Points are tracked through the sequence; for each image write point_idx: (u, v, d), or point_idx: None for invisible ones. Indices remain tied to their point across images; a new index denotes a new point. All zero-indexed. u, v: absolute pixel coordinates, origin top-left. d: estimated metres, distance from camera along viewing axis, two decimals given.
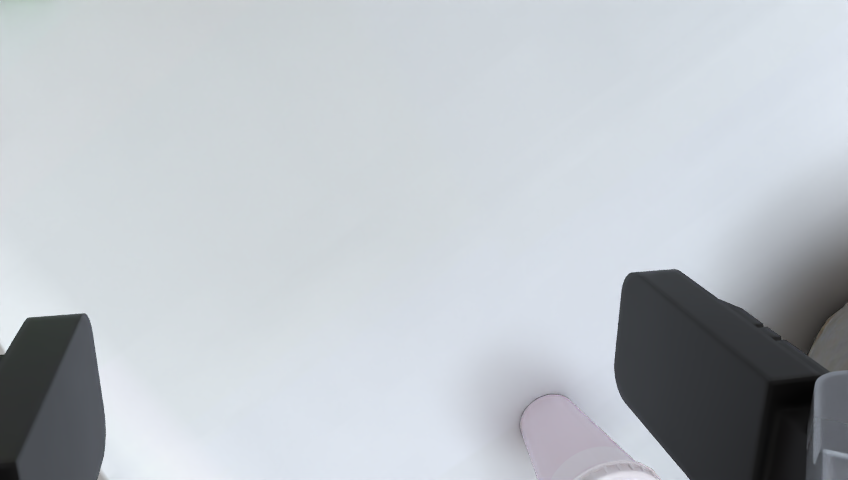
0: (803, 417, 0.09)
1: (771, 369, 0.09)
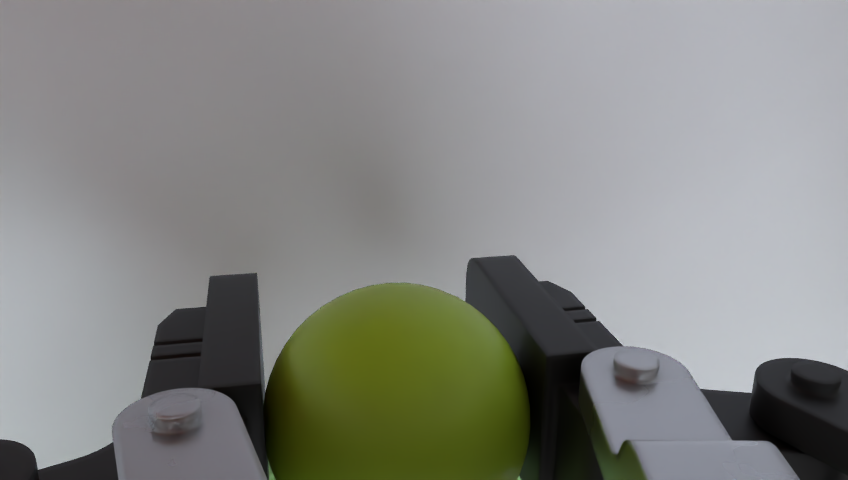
0: None
1: (554, 345, 0.10)
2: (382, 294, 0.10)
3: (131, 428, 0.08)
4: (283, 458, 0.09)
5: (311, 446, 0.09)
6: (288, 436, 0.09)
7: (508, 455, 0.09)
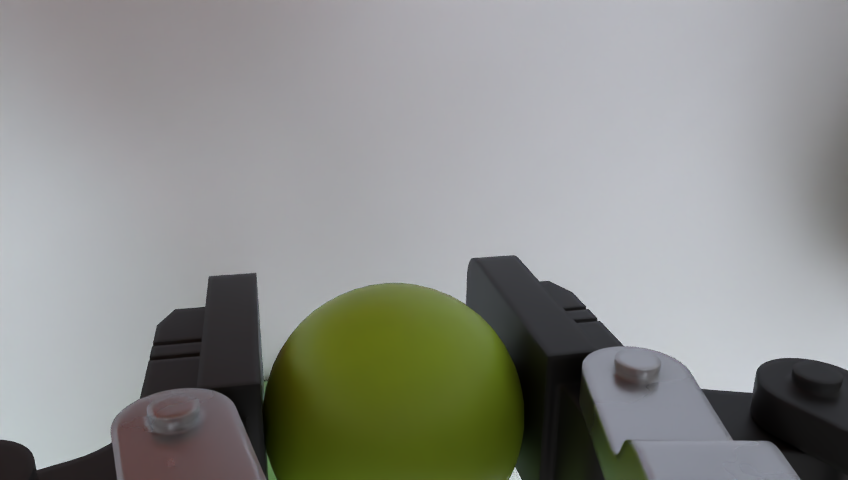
0: (580, 390, 0.09)
1: (555, 345, 0.10)
2: (388, 325, 0.09)
3: (129, 428, 0.08)
4: (284, 476, 0.09)
5: None
6: (290, 466, 0.09)
7: None
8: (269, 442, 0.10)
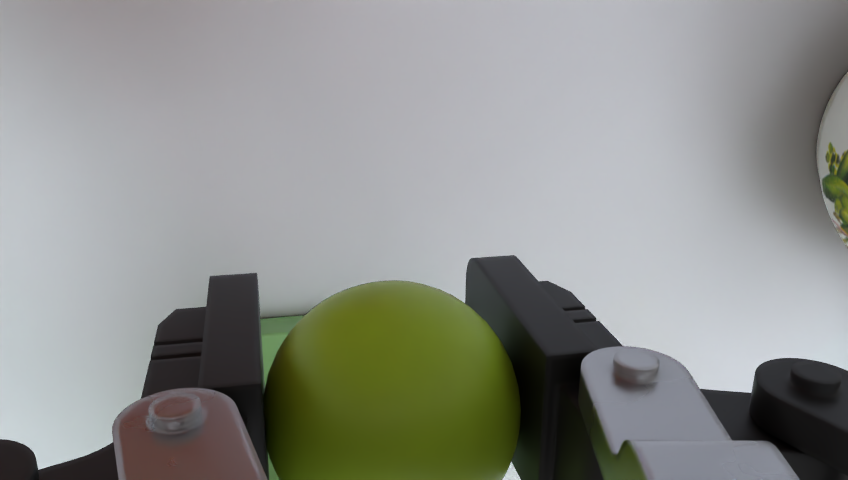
0: (579, 390, 0.09)
1: (554, 346, 0.10)
2: (392, 356, 0.09)
3: (131, 428, 0.08)
4: None
5: None
6: (290, 477, 0.09)
7: None
8: (269, 446, 0.10)
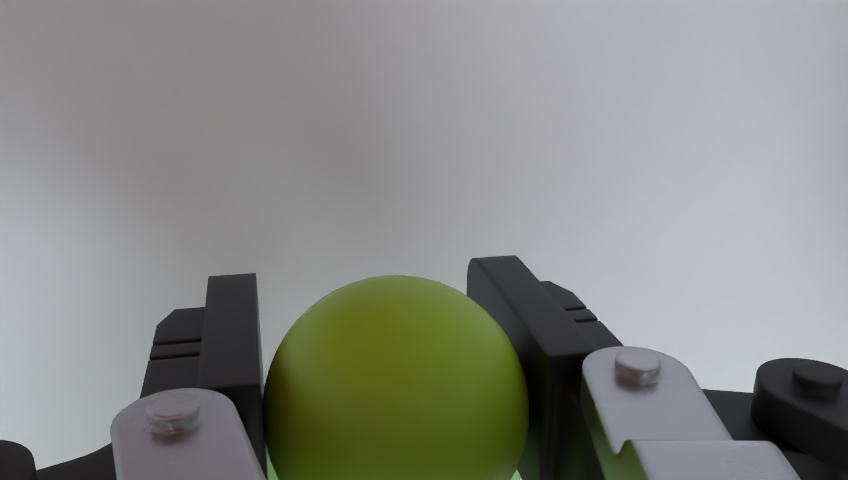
0: (580, 391, 0.09)
1: (555, 346, 0.10)
2: (383, 291, 0.10)
3: (129, 428, 0.08)
4: (283, 455, 0.09)
5: (310, 447, 0.09)
6: (289, 436, 0.09)
7: (506, 456, 0.09)
8: (268, 424, 0.09)
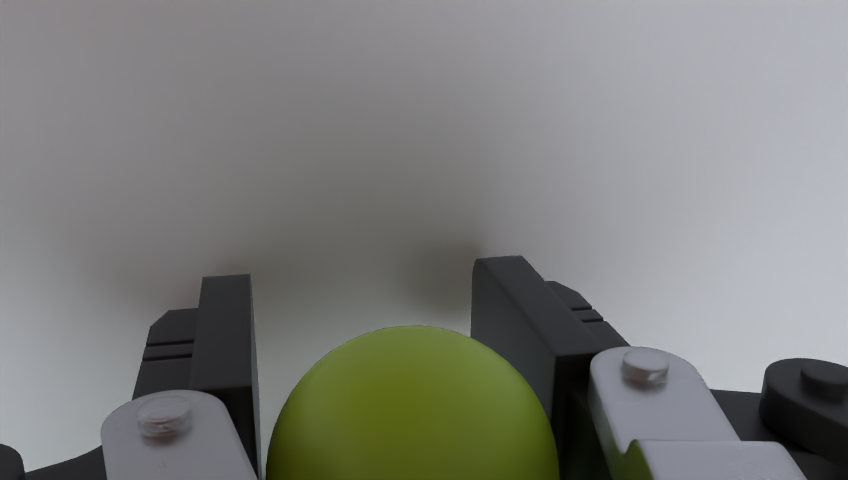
0: (588, 390, 0.09)
1: (562, 346, 0.10)
2: (394, 333, 0.09)
3: (120, 431, 0.08)
4: None
5: None
6: None
7: None
8: None
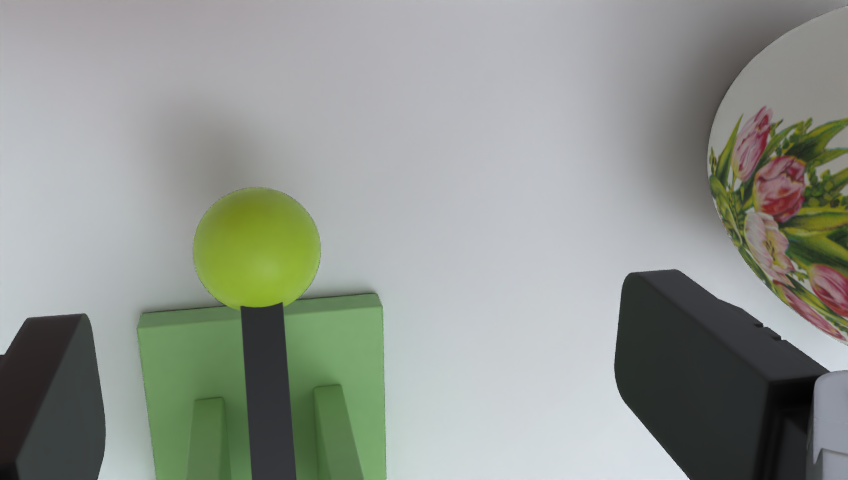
0: (803, 417, 0.09)
1: (771, 369, 0.09)
2: (247, 188, 0.21)
3: None
4: (199, 256, 0.20)
5: (209, 244, 0.20)
6: (201, 244, 0.20)
7: (299, 250, 0.20)
8: (193, 248, 0.21)
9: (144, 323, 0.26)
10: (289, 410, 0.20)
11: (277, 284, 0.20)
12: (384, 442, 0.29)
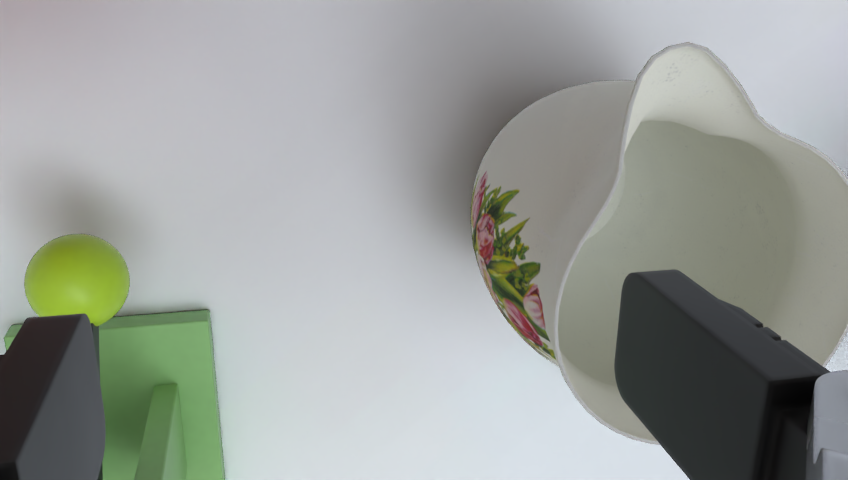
0: (803, 417, 0.09)
1: (771, 369, 0.09)
2: (68, 235, 0.28)
3: None
4: (26, 287, 0.27)
5: (32, 279, 0.27)
6: (27, 279, 0.27)
7: (102, 284, 0.27)
8: (24, 281, 0.27)
9: (11, 333, 0.32)
10: None
11: (85, 310, 0.27)
12: (217, 430, 0.35)
